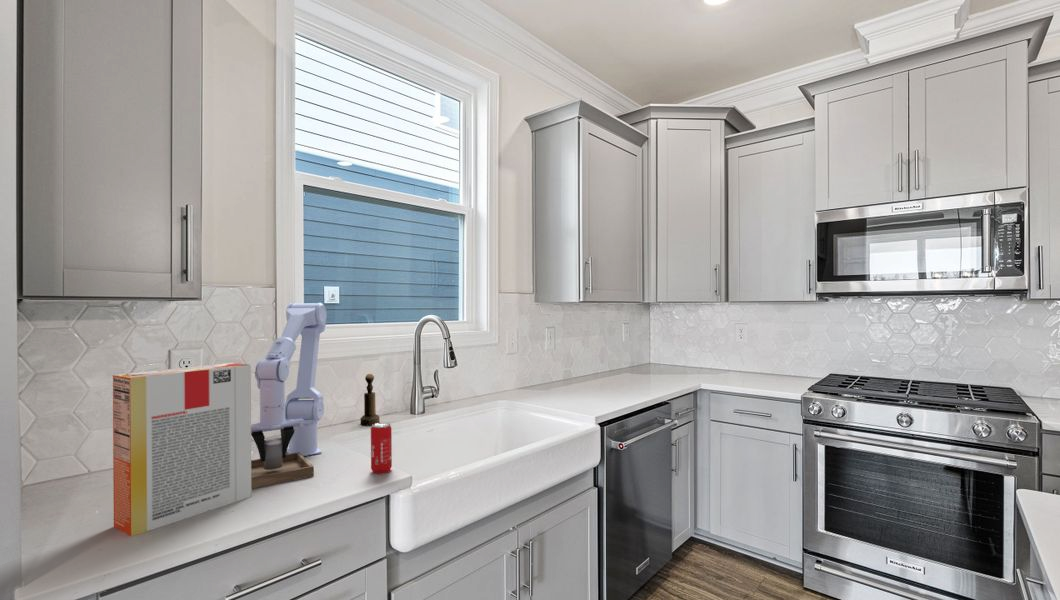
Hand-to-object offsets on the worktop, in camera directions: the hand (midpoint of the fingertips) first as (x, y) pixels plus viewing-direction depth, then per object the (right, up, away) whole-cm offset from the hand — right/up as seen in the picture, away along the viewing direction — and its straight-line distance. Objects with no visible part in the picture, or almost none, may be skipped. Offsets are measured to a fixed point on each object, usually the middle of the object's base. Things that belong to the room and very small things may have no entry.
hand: (272, 458), depth 131 cm
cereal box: (-7, -4, -23) cm, 24 cm away
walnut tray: (0, -4, 0) cm, 4 cm away
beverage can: (+27, -4, +2) cm, 28 cm away
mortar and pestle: (+8, -4, +55) cm, 55 cm away
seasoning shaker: (0, -2, 0) cm, 2 cm away
